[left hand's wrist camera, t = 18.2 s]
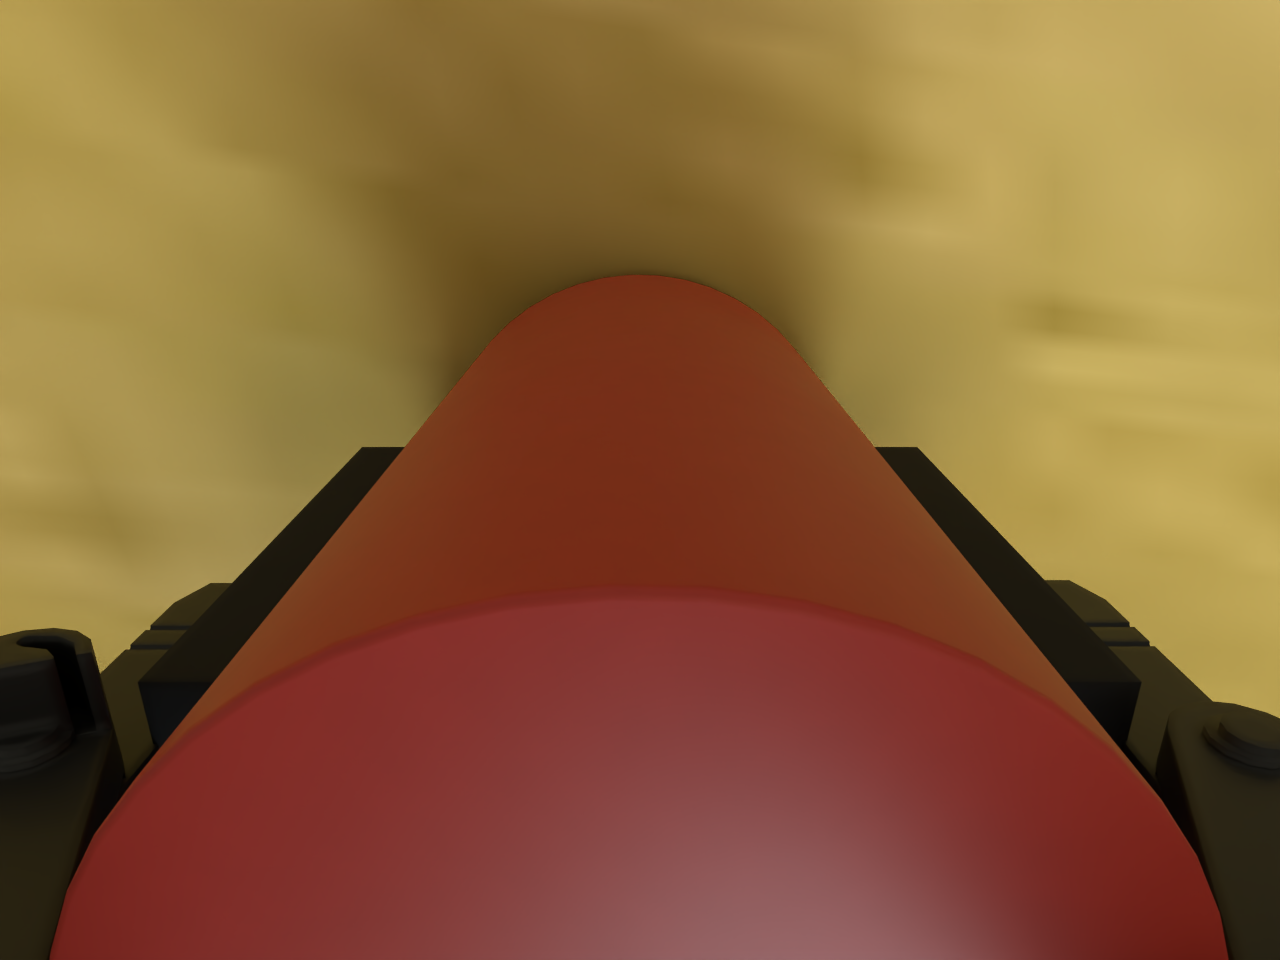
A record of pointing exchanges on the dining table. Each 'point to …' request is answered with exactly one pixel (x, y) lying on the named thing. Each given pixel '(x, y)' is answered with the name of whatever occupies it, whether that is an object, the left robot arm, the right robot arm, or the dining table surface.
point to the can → (639, 701)
